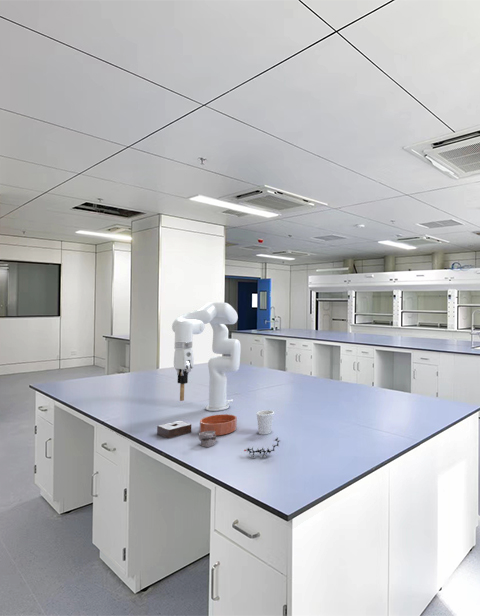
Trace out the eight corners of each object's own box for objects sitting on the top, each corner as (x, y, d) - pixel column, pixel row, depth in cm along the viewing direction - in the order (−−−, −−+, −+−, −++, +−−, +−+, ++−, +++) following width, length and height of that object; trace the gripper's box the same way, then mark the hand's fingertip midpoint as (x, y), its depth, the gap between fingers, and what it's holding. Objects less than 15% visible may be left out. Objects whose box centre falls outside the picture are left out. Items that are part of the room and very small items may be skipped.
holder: (179, 428, 189) (179, 420, 189) (191, 432, 184) (191, 424, 184) (157, 434, 180) (157, 425, 180) (168, 438, 175) (168, 429, 175)
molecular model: (245, 453, 159) (246, 434, 159) (281, 453, 161) (282, 434, 161) (241, 460, 153) (241, 440, 153) (278, 459, 155) (279, 439, 155)
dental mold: (205, 440, 174) (205, 429, 174) (219, 441, 174) (219, 430, 174) (195, 446, 166) (195, 435, 166) (210, 447, 166) (210, 436, 166)
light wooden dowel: (182, 399, 184) (183, 371, 184) (184, 400, 183) (185, 371, 183) (179, 400, 182) (179, 371, 182) (180, 401, 181) (181, 372, 181)
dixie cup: (256, 436, 181) (257, 415, 181) (254, 430, 189) (255, 411, 189) (274, 433, 185) (275, 413, 185) (272, 428, 193) (272, 409, 193)
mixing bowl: (223, 423, 198) (223, 412, 198) (243, 429, 190) (243, 418, 190) (192, 432, 184) (192, 420, 184) (212, 439, 176) (212, 426, 176)
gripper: (200, 346, 182) (199, 384, 182) (182, 343, 190) (181, 380, 190) (184, 347, 175) (183, 386, 175) (167, 344, 184) (166, 382, 184)
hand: (182, 382), depth 183 cm, fingers closed on light wooden dowel, 1 cm apart
